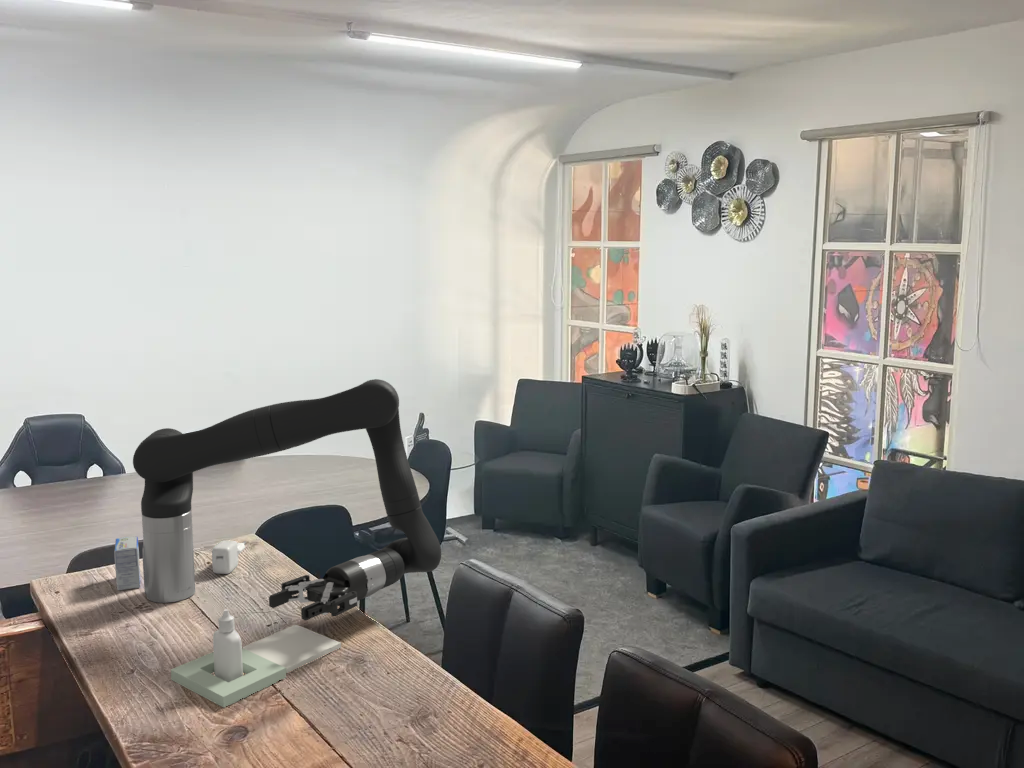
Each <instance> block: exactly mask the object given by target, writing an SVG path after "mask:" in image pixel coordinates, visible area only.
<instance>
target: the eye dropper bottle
mask: <svg viewBox="0 0 1024 768" xmlns="http://www.w3.org/2000/svg"><path fill="white" fill-rule="evenodd" d="M212 640H213V641H212V643H213V644H212V645H213V647H212V648H213V652H214V676H216V677H218V678H220V679H222V680H224V681H226V682H230V681H233V680H235V679H237V678H239V677H241V676H244V673H243V664H242V647H243V646H242V639H241V636H240V633H239V632H238V631H237V630H236V629H235V616H233V615H231V614H230V612H229V609H228V608H225V609H223V612H222V616H219V617H218V629H217V630H215V631H214V632H213V634H212Z"/></svg>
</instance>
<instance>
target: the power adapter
mask: <svg viewBox="0 0 1024 768" xmlns="http://www.w3.org/2000/svg"><path fill="white" fill-rule="evenodd" d="M246 544H247V541H246V540H244V541H242V542H238V541H236V540H224V539H223V540H221V541H220V542H218V543H216V545H214V546H213V548H212V550H211V563H212V566H211V567H212V571H213V573H214V574H219V575H224V574H225V575H228V574H230V573H231V572H233V570H235V569H236V568H237V567H238V565H239V555H240V554H241V553H242V552H243V551H244V550H245V548H246Z"/></svg>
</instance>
